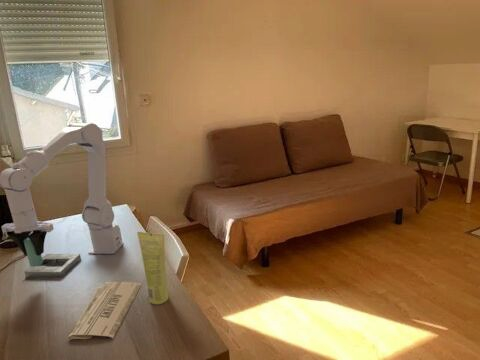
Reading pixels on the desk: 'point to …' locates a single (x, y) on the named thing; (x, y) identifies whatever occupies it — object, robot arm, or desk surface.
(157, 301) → the tube
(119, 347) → the desk surface
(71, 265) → the keyhole plate
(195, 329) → the desk surface
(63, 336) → the desk surface
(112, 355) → the desk surface
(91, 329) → the newspaper
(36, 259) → the peg
